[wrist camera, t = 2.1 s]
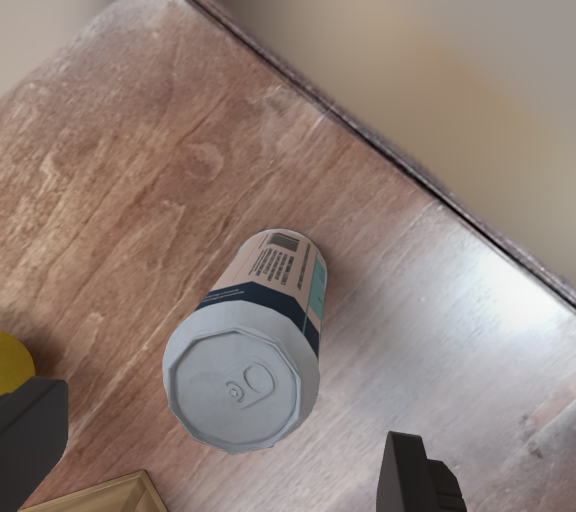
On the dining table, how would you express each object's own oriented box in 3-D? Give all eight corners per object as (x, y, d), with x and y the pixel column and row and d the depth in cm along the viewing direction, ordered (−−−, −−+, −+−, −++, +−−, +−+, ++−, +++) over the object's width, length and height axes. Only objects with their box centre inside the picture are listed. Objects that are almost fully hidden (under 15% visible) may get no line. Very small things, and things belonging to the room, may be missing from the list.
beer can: (216, 258, 26) (117, 367, 14) (293, 207, 25) (253, 281, 13) (268, 332, 27) (215, 492, 15) (345, 286, 26) (351, 420, 14)
